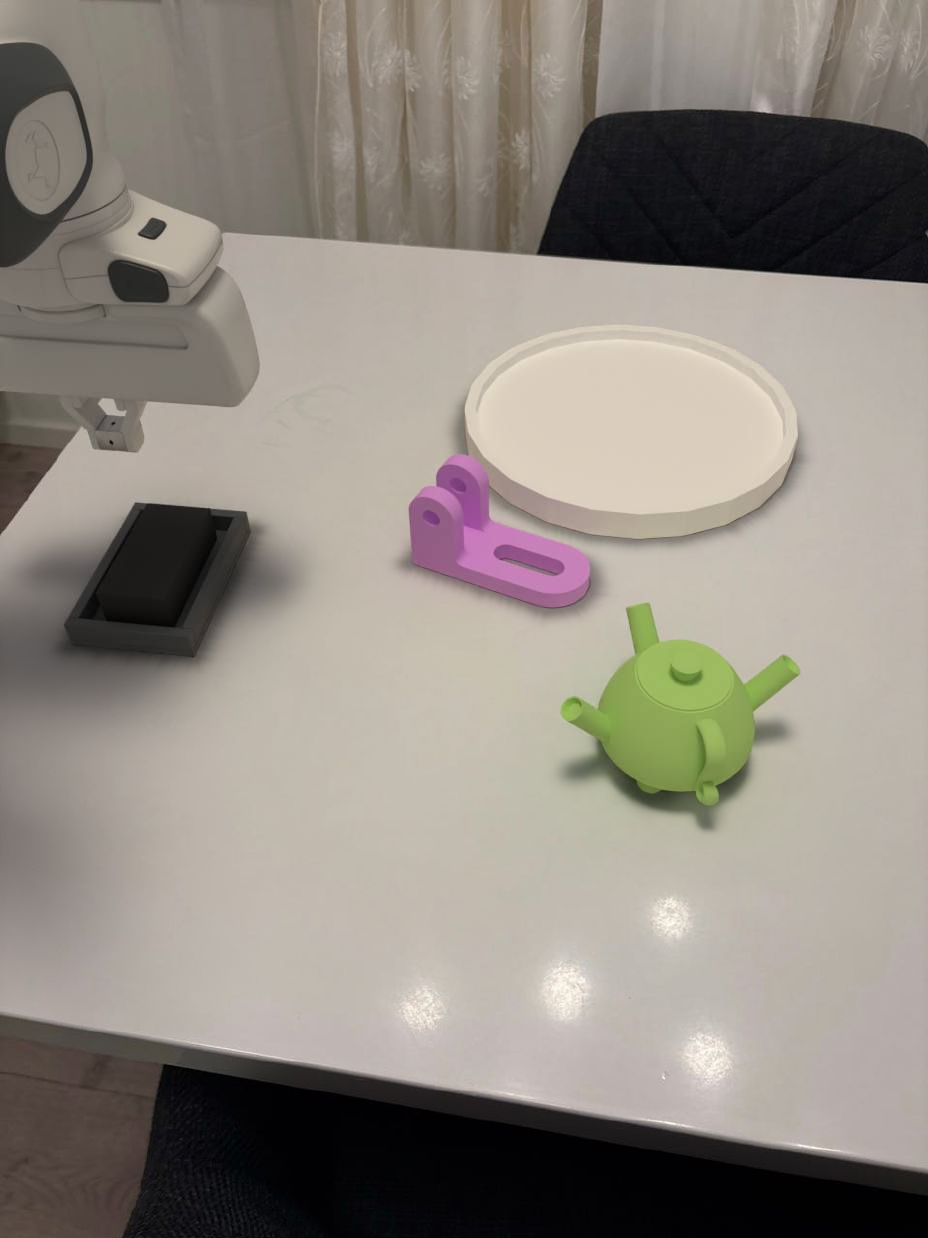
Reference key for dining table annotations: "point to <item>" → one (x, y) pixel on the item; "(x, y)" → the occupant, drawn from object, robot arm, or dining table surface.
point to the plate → (630, 431)
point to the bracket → (488, 541)
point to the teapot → (677, 712)
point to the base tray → (190, 628)
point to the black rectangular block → (158, 565)
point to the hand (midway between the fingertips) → (120, 446)
